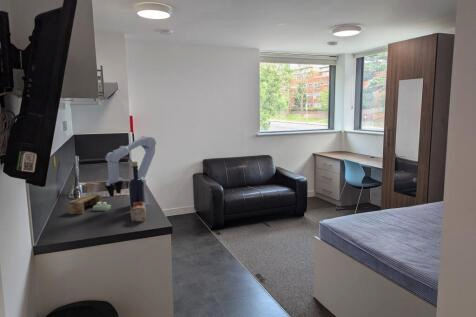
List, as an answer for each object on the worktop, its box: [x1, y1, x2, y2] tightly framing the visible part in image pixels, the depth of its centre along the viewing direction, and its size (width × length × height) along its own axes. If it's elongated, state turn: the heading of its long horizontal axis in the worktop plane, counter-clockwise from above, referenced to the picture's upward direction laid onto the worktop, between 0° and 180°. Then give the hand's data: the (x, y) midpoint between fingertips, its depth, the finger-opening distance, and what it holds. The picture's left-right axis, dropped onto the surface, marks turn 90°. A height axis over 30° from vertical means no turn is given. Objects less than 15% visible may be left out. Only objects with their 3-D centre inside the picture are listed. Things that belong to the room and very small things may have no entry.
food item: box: [130, 202, 147, 223], centre depth 187 cm, size 14×8×10 cm, turn 14°
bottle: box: [128, 161, 145, 214], centre depth 198 cm, size 9×9×30 cm
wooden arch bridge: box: [68, 193, 103, 215], centre depth 208 cm, size 9×19×7 cm, turn 170°
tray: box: [92, 201, 112, 212], centre depth 206 cm, size 9×5×4 cm, turn 80°
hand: (115, 194), depth 204 cm, fingers open, 7 cm apart
